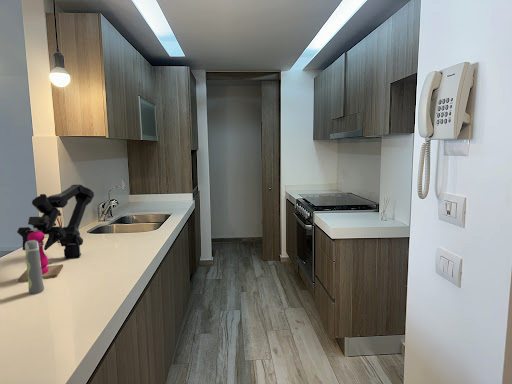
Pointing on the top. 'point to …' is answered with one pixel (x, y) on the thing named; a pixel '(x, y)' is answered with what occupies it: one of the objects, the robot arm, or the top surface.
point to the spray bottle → (34, 267)
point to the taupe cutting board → (51, 273)
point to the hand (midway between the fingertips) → (34, 249)
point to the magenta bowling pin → (40, 248)
